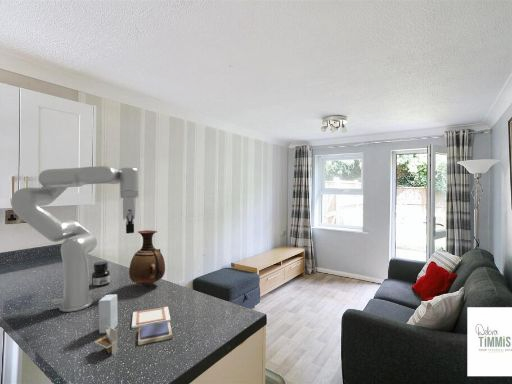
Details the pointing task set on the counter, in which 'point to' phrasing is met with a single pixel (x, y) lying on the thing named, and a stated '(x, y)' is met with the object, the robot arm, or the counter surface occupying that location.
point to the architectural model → (109, 340)
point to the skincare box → (108, 312)
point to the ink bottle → (100, 274)
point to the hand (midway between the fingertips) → (130, 231)
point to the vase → (147, 262)
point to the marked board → (150, 317)
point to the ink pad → (154, 333)
